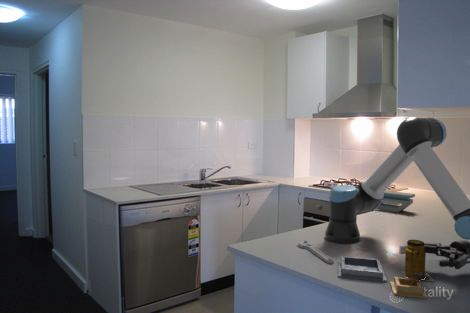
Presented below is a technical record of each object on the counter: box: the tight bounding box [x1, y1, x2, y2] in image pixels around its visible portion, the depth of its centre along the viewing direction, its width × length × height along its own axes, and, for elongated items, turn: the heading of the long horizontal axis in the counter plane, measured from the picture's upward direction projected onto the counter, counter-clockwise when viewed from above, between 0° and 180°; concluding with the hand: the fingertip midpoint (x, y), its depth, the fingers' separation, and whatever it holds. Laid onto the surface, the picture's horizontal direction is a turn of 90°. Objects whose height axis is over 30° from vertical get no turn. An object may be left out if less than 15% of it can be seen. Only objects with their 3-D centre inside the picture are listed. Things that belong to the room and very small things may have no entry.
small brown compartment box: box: [389, 276, 428, 300], centre depth 115 cm, size 9×9×3 cm
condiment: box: [401, 239, 435, 282], centre depth 125 cm, size 7×8×12 cm
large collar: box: [337, 255, 388, 283], centre depth 130 cm, size 15×15×3 cm
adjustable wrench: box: [298, 239, 335, 264], centre depth 149 cm, size 25×6×2 cm, turn 10°
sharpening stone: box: [376, 190, 416, 213], centre depth 227 cm, size 25×8×11 cm, turn 45°
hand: (414, 256), depth 124 cm, fingers open, 13 cm apart
